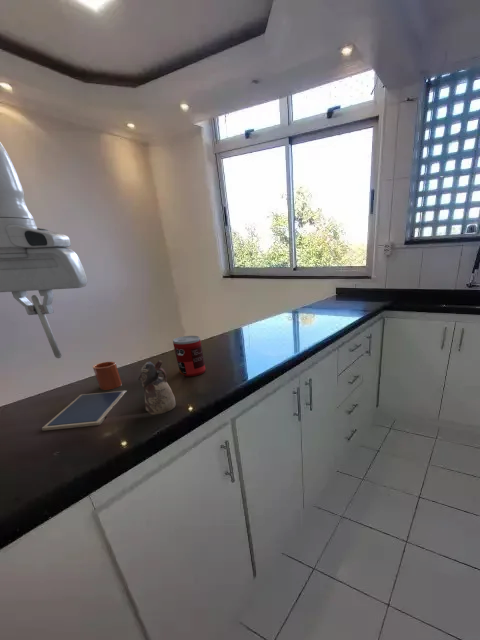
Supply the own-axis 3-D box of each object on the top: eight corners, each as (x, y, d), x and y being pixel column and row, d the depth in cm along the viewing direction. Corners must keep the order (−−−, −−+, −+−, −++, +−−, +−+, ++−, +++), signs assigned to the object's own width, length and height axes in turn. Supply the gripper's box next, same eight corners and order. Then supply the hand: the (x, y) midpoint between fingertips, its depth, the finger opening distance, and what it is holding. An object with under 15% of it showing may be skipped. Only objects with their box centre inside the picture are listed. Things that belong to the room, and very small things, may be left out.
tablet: (42, 430, 69) (41, 427, 69) (81, 396, 85) (80, 394, 85) (100, 425, 70) (98, 421, 70) (127, 392, 86) (126, 389, 86)
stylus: (54, 359, 67) (28, 295, 61) (57, 357, 68) (32, 294, 62) (60, 358, 67) (35, 295, 61) (63, 357, 68) (38, 294, 62)
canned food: (180, 370, 101) (173, 337, 96) (205, 367, 103) (199, 334, 98) (179, 378, 95) (171, 343, 90) (206, 374, 97) (200, 340, 92)
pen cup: (97, 392, 87) (88, 369, 84) (105, 384, 92) (98, 362, 89) (118, 390, 88) (110, 367, 85) (125, 382, 93) (118, 360, 90)
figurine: (146, 404, 79) (134, 359, 74) (176, 399, 81) (165, 355, 76) (144, 417, 73) (130, 369, 68) (176, 411, 75) (165, 364, 70)
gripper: (-68, 239, 53) (-28, 320, 59) (60, 235, 56) (86, 313, 62) (-38, 240, 59) (-4, 314, 65) (77, 236, 61) (100, 308, 67)
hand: (41, 313), depth 63 cm, fingers closed on stylus, 1 cm apart
